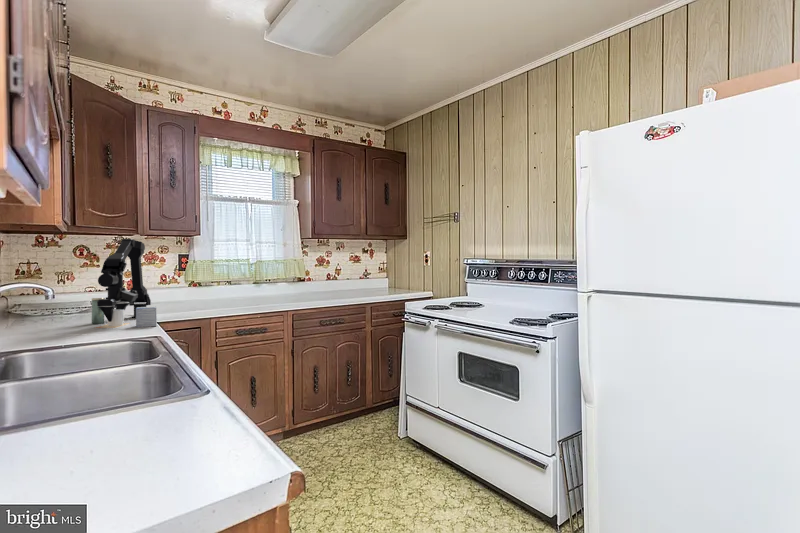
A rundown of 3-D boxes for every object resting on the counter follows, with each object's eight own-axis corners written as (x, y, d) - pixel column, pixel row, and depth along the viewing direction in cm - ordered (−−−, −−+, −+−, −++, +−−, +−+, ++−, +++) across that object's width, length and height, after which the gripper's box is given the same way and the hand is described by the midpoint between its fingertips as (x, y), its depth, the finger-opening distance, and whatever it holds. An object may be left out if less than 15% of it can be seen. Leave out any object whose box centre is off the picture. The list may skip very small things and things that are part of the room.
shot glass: (121, 323, 197) (121, 308, 197) (127, 325, 193) (127, 309, 192) (104, 325, 192) (104, 309, 192) (109, 327, 187) (109, 311, 187)
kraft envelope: (110, 323, 198) (110, 323, 198) (131, 323, 199) (131, 322, 199) (93, 328, 184) (93, 327, 184) (115, 328, 186) (115, 327, 186)
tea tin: (95, 323, 200) (96, 297, 200) (106, 323, 200) (107, 297, 200) (88, 324, 195) (89, 298, 195) (99, 324, 195) (100, 298, 195)
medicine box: (156, 325, 195) (156, 306, 195) (156, 326, 191) (156, 307, 191) (136, 326, 192) (136, 307, 191) (135, 327, 188) (135, 308, 188)
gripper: (124, 286, 184) (124, 322, 184) (143, 284, 202) (144, 317, 202) (96, 287, 182) (96, 323, 182) (118, 284, 201) (118, 317, 201)
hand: (115, 320), depth 192 cm, fingers open, 9 cm apart
